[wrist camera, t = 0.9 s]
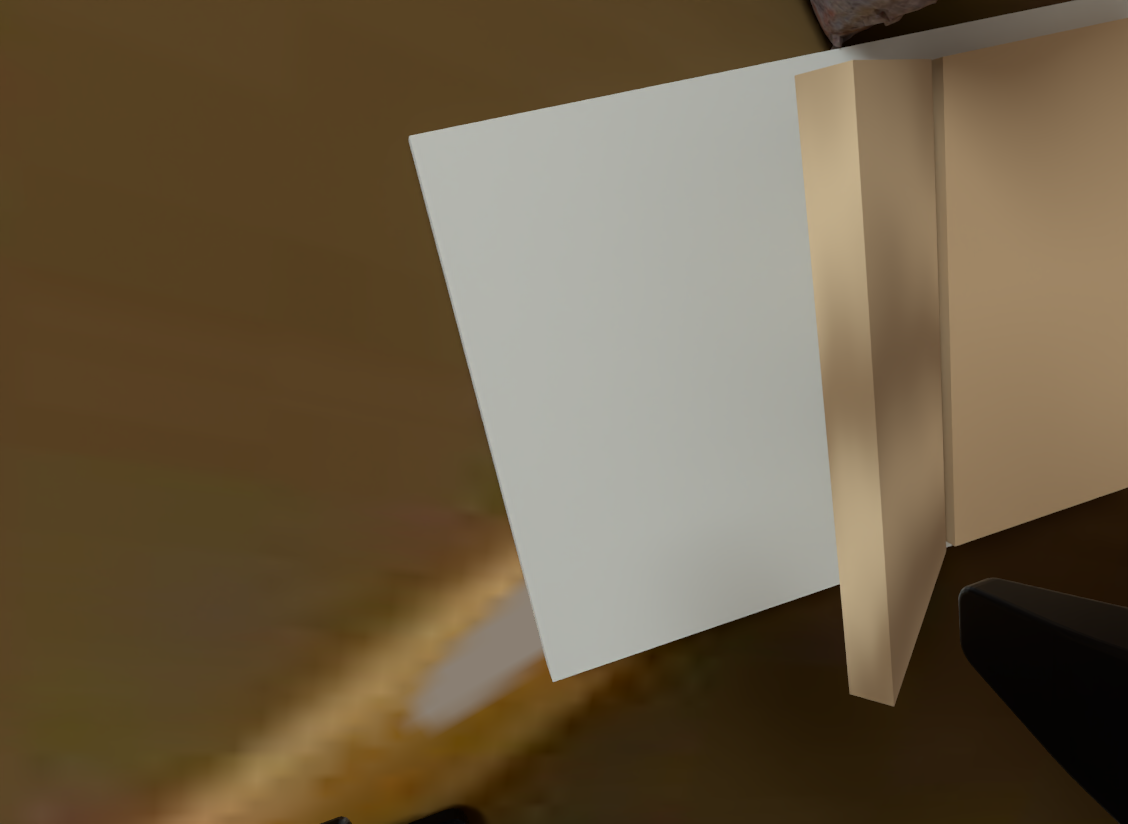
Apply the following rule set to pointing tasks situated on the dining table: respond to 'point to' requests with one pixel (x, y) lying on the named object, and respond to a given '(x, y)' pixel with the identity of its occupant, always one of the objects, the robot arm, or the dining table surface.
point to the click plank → (877, 348)
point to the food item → (860, 15)
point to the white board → (775, 320)
